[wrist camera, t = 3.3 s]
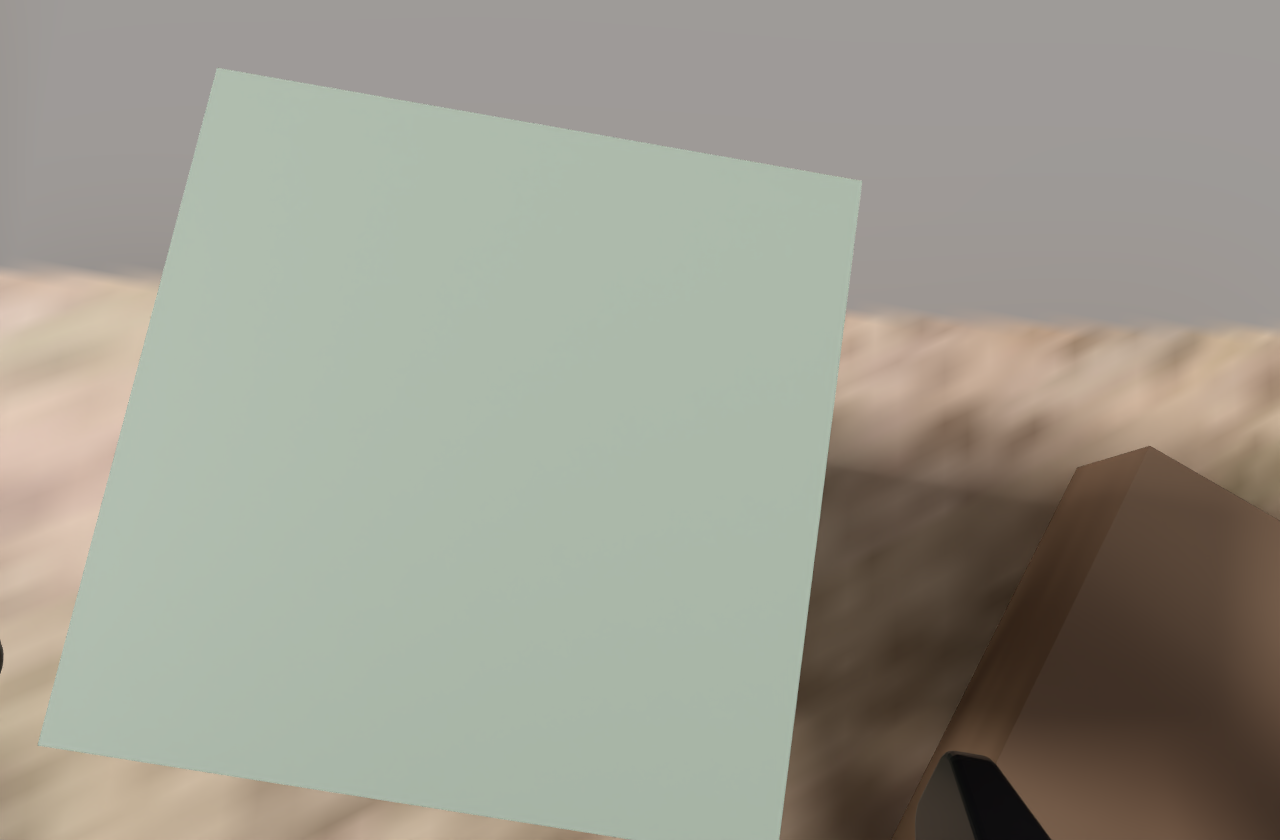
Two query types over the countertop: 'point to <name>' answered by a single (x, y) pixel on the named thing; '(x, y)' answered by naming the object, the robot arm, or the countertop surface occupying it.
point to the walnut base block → (1137, 664)
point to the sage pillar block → (470, 470)
